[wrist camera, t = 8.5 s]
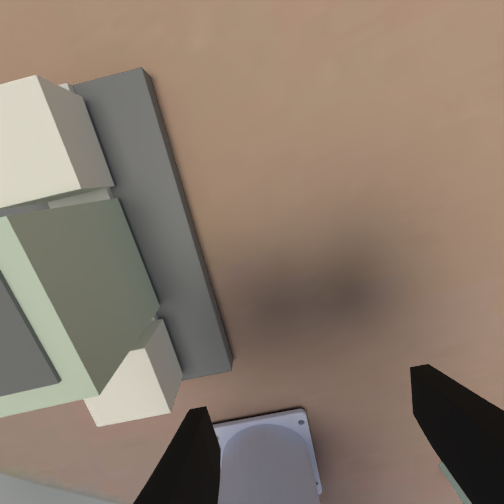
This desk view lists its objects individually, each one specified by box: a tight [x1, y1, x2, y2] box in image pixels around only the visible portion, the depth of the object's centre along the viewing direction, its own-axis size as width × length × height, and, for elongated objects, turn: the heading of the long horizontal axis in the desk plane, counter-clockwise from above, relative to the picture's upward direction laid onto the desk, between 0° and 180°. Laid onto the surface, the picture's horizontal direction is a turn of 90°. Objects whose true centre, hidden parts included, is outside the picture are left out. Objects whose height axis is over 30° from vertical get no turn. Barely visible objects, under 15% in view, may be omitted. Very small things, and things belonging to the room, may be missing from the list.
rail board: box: [0, 67, 233, 427], centre depth 15 cm, size 19×11×5 cm, turn 13°
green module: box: [0, 198, 160, 417], centre depth 12 cm, size 7×4×7 cm, turn 14°
